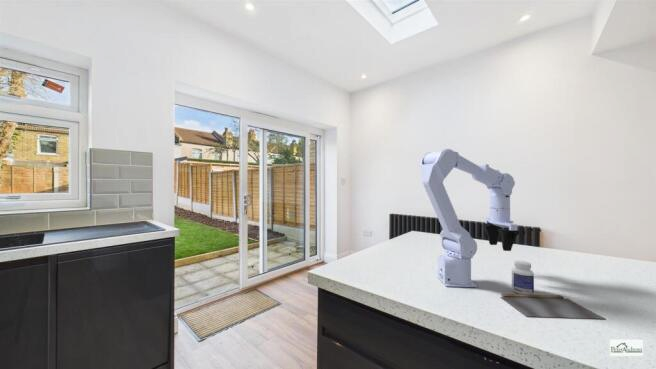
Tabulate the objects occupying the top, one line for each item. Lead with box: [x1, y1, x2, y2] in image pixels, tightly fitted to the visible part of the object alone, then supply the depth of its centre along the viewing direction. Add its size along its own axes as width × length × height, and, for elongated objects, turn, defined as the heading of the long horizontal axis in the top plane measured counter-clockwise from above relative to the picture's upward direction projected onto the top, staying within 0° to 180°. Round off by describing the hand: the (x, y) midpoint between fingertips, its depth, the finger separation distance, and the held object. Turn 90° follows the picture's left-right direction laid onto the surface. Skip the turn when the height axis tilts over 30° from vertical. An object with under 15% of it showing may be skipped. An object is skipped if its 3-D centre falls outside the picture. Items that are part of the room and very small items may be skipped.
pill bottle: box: [511, 260, 535, 295], centre depth 74 cm, size 5×5×9 cm
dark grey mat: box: [500, 293, 606, 320], centre depth 66 cm, size 18×11×1 cm, turn 86°
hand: (499, 247), depth 85 cm, fingers open, 7 cm apart
